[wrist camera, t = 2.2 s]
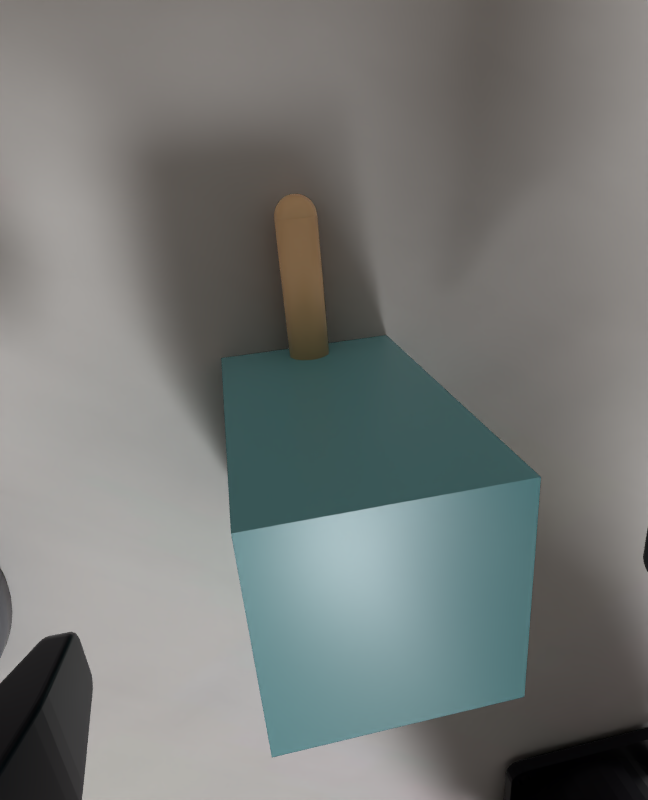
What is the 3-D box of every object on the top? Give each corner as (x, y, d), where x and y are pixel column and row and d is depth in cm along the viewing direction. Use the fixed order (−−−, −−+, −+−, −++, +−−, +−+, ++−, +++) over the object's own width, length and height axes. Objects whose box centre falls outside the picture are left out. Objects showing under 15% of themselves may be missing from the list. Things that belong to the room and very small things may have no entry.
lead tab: (379, 183, 12) (562, 194, 6) (392, 476, 15) (524, 696, 9) (195, 202, 12) (176, 235, 5) (245, 502, 15) (271, 757, 8)
